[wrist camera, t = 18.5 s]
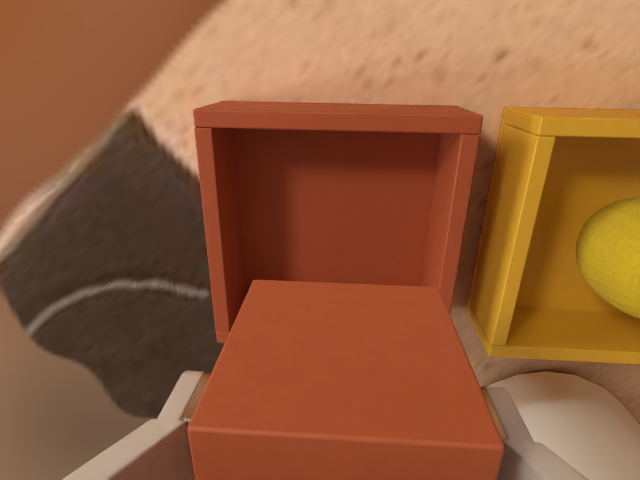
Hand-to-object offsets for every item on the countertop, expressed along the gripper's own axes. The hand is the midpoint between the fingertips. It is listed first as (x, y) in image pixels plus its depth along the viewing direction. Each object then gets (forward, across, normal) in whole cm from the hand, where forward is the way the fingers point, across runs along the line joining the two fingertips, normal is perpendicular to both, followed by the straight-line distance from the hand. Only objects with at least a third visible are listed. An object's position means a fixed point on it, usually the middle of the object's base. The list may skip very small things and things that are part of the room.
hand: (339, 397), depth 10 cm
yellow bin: (+15, -14, 0) cm, 21 cm away
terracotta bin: (+15, +1, 0) cm, 15 cm away
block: (+2, 0, 0) cm, 2 cm away
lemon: (+14, -14, 0) cm, 21 cm away
